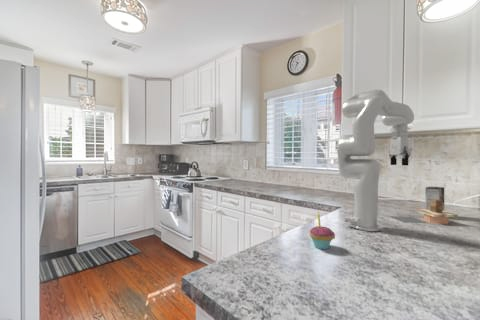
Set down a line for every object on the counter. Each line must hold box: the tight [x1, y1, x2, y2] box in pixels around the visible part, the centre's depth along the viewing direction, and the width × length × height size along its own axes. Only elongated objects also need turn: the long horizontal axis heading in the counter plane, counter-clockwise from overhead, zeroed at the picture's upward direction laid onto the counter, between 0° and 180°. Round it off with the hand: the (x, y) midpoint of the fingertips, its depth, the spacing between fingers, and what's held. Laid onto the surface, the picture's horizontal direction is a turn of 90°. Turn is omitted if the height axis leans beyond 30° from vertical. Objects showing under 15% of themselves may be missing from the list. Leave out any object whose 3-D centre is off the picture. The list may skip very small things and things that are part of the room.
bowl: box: [423, 214, 450, 225], centre depth 114 cm, size 9×9×4 cm
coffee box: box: [425, 186, 445, 211], centre depth 126 cm, size 9×6×16 cm
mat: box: [388, 215, 429, 224], centre depth 117 cm, size 12×12×1 cm
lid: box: [416, 199, 459, 218], centre depth 113 cm, size 11×11×7 cm
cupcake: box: [309, 212, 336, 250], centre depth 80 cm, size 9×8×12 cm
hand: (399, 165), depth 130 cm, fingers open, 9 cm apart
